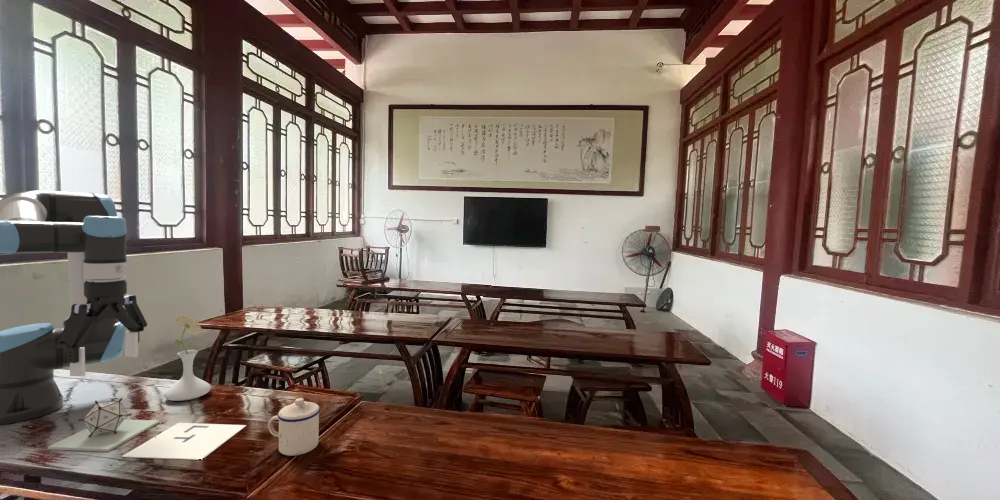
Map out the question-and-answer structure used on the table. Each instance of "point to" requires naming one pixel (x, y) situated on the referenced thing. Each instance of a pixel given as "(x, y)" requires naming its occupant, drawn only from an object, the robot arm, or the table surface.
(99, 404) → the game die
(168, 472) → the table surface
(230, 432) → the card
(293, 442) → the teacup with lid
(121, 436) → the sage mat
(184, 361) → the flower in vase
